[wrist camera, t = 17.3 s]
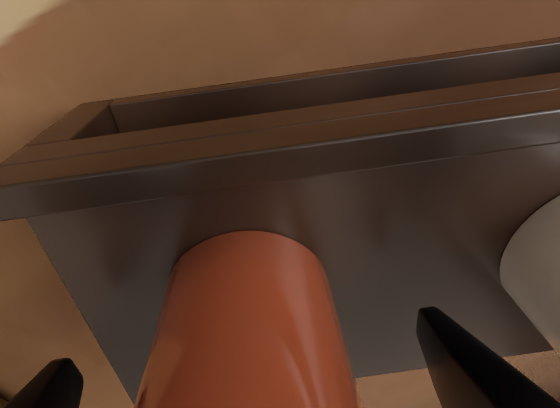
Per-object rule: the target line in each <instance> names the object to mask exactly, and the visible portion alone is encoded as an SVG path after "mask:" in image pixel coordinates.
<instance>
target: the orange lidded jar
mask: <svg viewBox="0 0 560 408" xmlns="http://www.w3.org/2000/svg"><path fill="white" fill-rule="evenodd" d="M134 408H363V406H362V402H361V398H360V395H359V391H358V387H357V383H356V380H355V376H354V372H353V369H352V365H351V361H350V358H349V354H348V350H347V346H346V343H345V339H344V335H343V332H342V328H341V324H340V321H339V317H338V313H337V309H336V306H335V302H334V298H333V295H332V291H331V287H330V284H329V280H328V277H327V274H326V271H325V269H324V267H323V265H322V263H321V262H320V261H319V259H318V258H317V257H316V256H315V255H314V254H313V253H312V252H311V251H310V250H309V249H308V248H306V247H305V246H303V245H302V244H300V243H299V242H297V241H295V240H293V239H291V238H288V237H285V236H283V235H280V234H276V233H272V232H265V231H255V230H245V231H234V232H229V233H224V234H220V235H217V236H214V237H211V238H209V239H207V240H205V241H202V242H201V243H199V244H197V245H196V246H194V247H193V248H191V249H190V250H189V251H188V252H186V253H185V254H184V255H183V256H182V257H181V258H180V259H179V260H178V262H177V263H176V264H175V266H174V267H173V269H172V271H171V273H170V275H169V278H168V282H167V286H166V289H165V293H164V297H163V301H162V304H161V308H160V312H159V316H158V319H157V323H156V327H155V331H154V335H153V338H152V342H151V346H150V350H149V353H148V357H147V361H146V365H145V368H144V372H143V376H142V380H141V383H140V387H139V391H138V395H137V399H136V402H135V406H134Z"/></svg>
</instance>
